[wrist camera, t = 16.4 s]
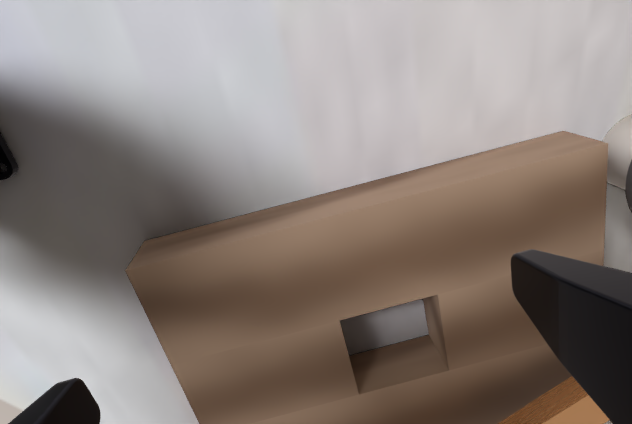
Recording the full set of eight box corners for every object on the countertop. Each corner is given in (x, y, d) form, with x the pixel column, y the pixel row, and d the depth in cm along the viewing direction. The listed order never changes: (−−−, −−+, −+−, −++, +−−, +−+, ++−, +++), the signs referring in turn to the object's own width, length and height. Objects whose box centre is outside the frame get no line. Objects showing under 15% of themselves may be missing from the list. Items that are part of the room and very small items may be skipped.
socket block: (144, 241, 21) (113, 289, 17) (563, 130, 21) (636, 151, 17) (240, 453, 27) (234, 528, 23) (564, 366, 27) (617, 424, 23)
